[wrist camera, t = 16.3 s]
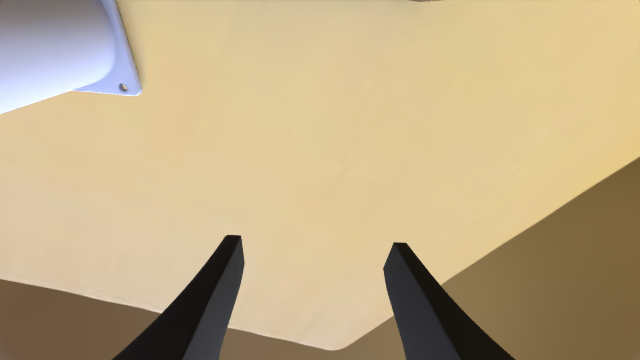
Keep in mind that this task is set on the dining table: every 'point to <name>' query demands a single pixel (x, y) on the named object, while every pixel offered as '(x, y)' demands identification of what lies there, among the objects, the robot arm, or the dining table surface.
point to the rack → (424, 0)
